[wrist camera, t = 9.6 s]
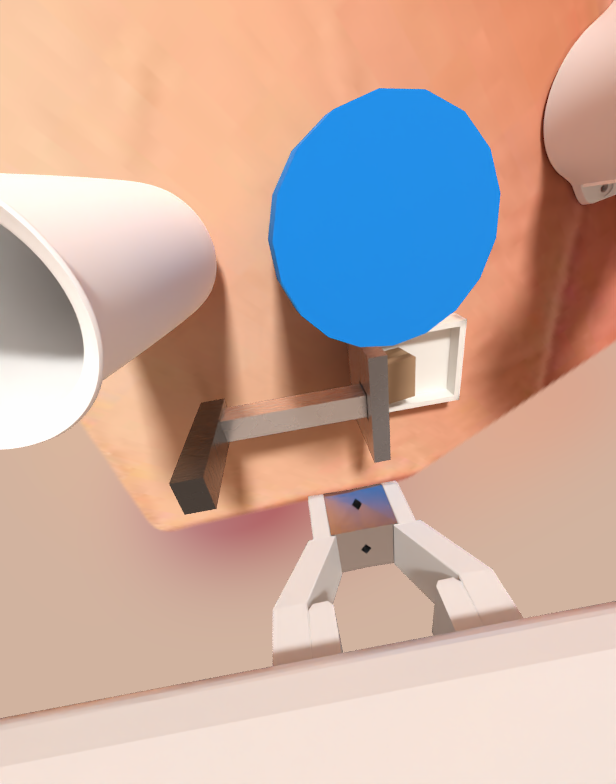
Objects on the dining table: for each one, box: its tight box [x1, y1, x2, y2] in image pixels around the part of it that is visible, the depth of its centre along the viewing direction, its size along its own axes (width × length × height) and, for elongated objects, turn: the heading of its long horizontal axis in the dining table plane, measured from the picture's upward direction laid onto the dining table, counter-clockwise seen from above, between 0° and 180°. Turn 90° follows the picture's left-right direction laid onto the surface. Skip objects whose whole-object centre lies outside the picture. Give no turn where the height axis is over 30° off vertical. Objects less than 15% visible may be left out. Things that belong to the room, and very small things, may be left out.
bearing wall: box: [347, 343, 390, 463], centre depth 41 cm, size 2×14×12 cm, turn 9°
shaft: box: [169, 384, 368, 514], centre depth 35 cm, size 20×4×14 cm, turn 99°
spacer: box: [384, 347, 416, 404], centre depth 43 cm, size 5×6×4 cm
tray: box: [380, 313, 467, 412], centre depth 44 cm, size 13×12×3 cm
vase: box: [0, 173, 217, 449], centre depth 24 cm, size 13×13×28 cm
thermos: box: [268, 88, 500, 347], centre depth 25 cm, size 11×11×25 cm
